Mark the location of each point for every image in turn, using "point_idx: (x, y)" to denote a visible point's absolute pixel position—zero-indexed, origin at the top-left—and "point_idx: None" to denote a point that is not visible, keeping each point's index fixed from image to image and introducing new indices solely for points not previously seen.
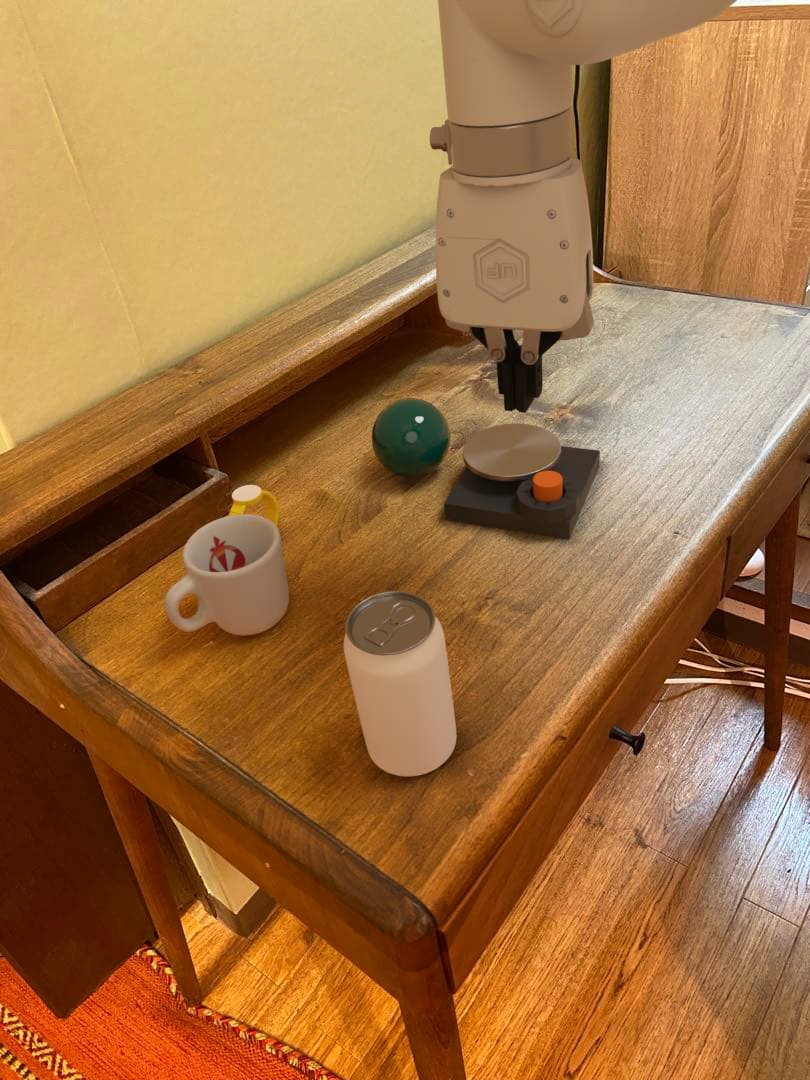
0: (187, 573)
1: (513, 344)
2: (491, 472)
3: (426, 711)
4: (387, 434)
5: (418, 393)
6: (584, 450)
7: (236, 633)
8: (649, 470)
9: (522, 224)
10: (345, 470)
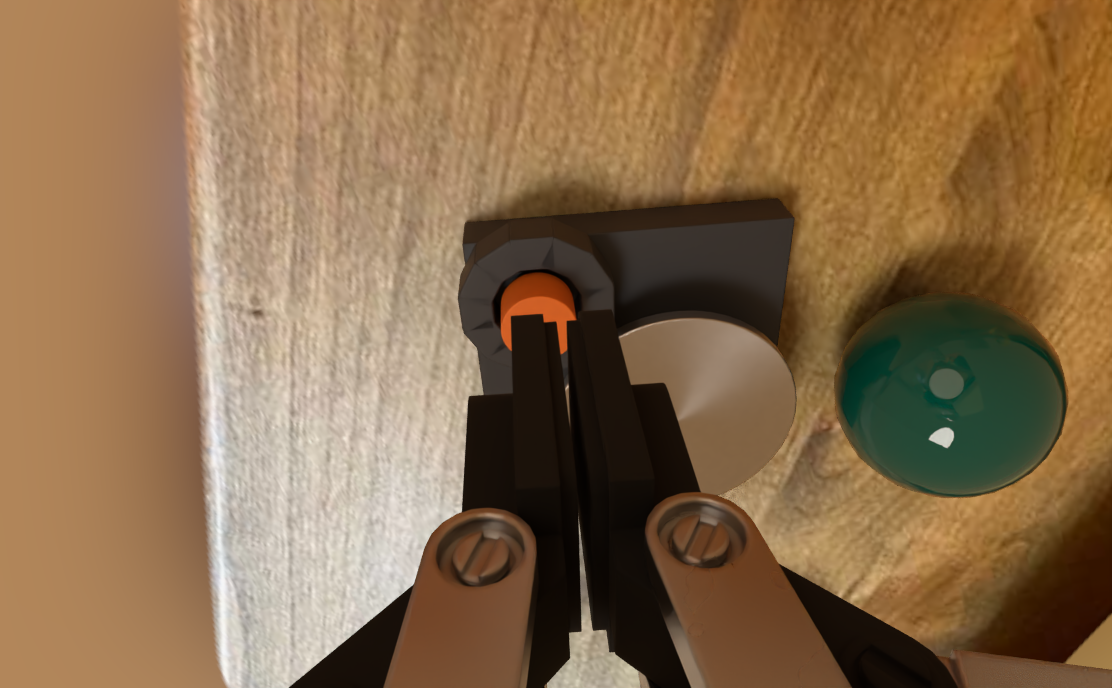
0: None
1: (633, 635)
2: (696, 326)
3: None
4: (1024, 358)
5: (946, 562)
6: None
7: None
8: (396, 472)
9: None
10: (1075, 294)
